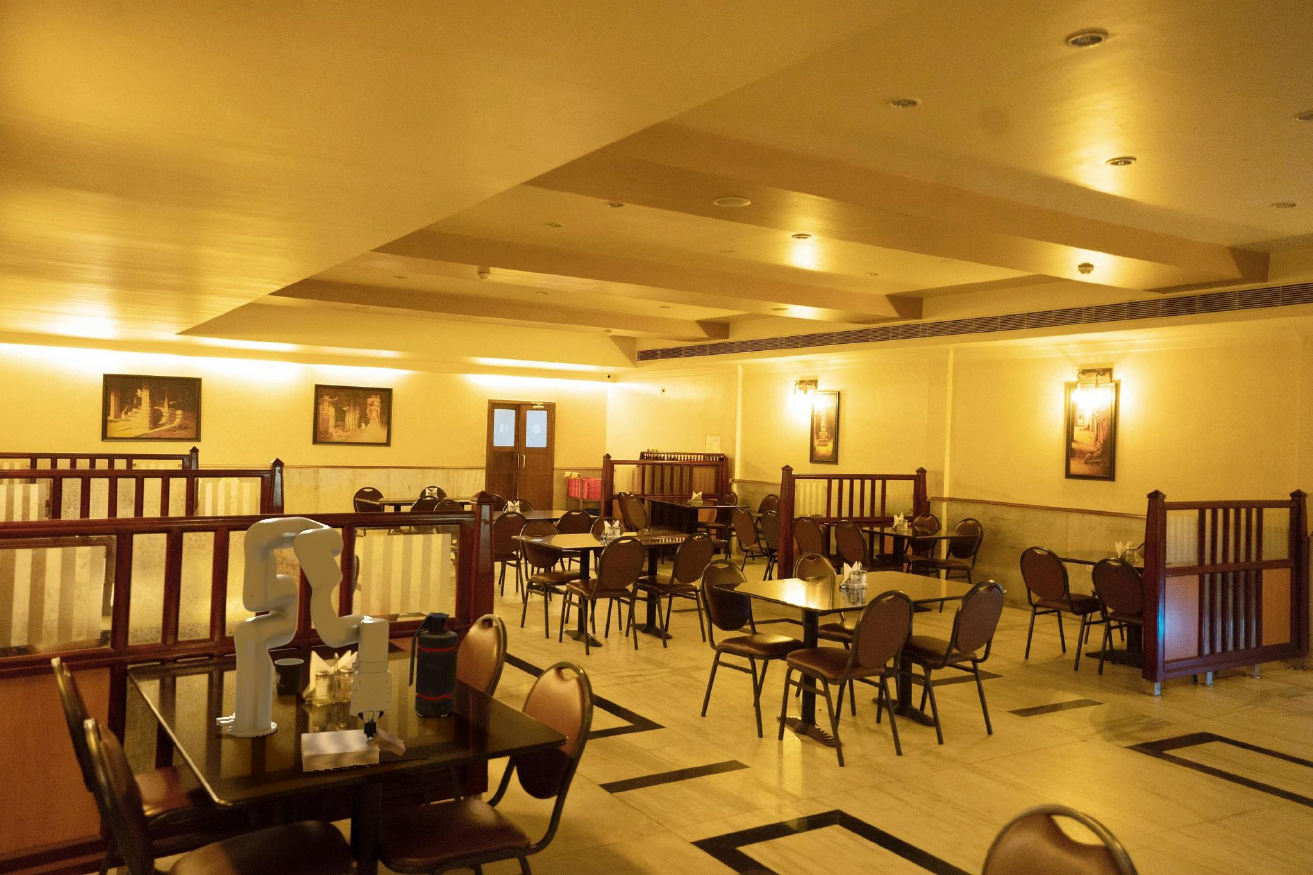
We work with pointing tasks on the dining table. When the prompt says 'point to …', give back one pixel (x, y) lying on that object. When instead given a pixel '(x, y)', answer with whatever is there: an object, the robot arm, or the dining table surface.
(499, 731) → the dining table surface
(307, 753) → the block
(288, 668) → the coffee mug
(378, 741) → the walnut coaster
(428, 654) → the grenade
